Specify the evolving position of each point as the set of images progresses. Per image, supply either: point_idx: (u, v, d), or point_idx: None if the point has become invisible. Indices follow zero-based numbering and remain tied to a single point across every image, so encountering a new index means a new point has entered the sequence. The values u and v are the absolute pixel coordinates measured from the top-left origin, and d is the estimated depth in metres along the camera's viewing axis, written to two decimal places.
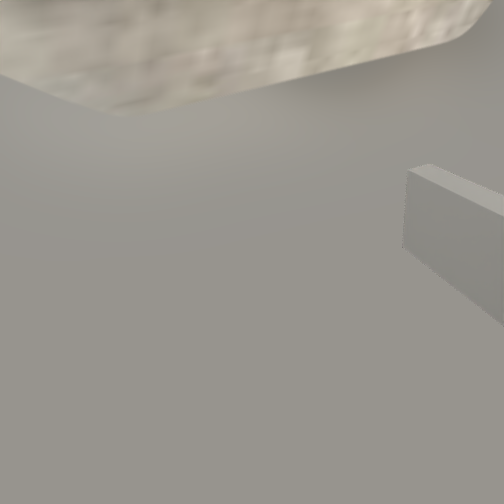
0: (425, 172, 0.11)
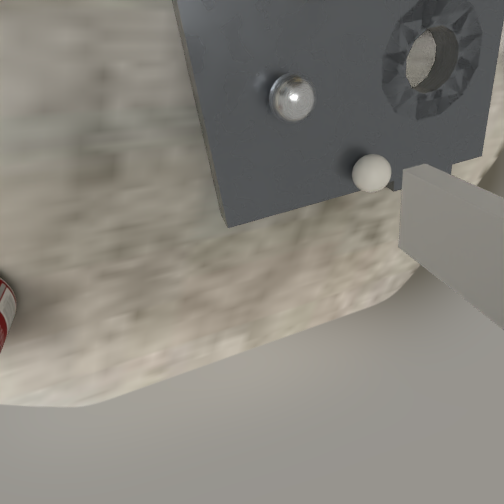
0: (420, 172, 0.11)
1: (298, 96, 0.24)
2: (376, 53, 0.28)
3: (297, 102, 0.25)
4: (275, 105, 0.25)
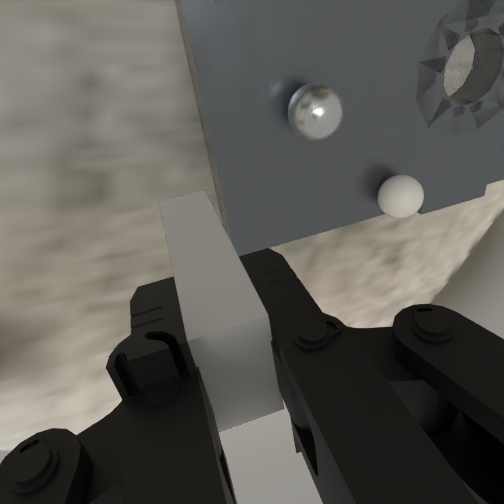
0: (191, 199, 0.12)
1: (324, 111, 0.20)
2: (412, 59, 0.24)
3: (323, 118, 0.21)
4: (295, 121, 0.21)
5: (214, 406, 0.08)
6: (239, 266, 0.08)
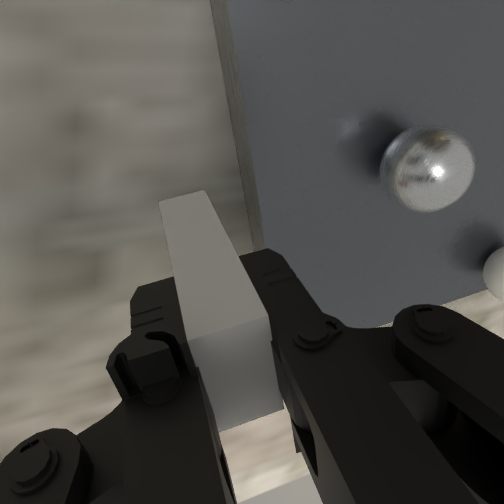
0: (191, 198, 0.12)
1: (452, 173, 0.13)
2: None
3: (448, 184, 0.13)
4: (399, 186, 0.13)
5: (214, 406, 0.08)
6: (239, 266, 0.08)
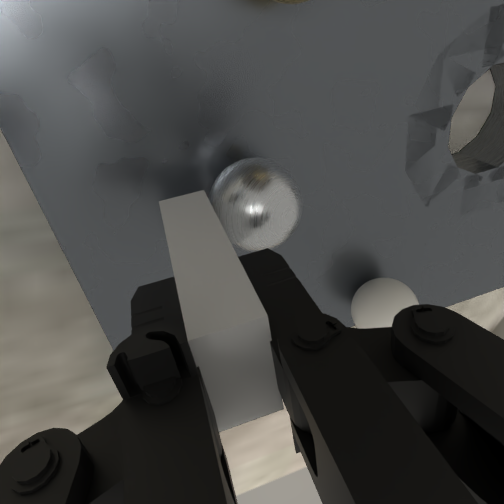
0: (191, 199, 0.12)
1: (284, 209, 0.12)
2: (397, 112, 0.15)
3: (283, 220, 0.12)
4: (235, 231, 0.12)
5: (215, 406, 0.08)
6: (238, 266, 0.08)
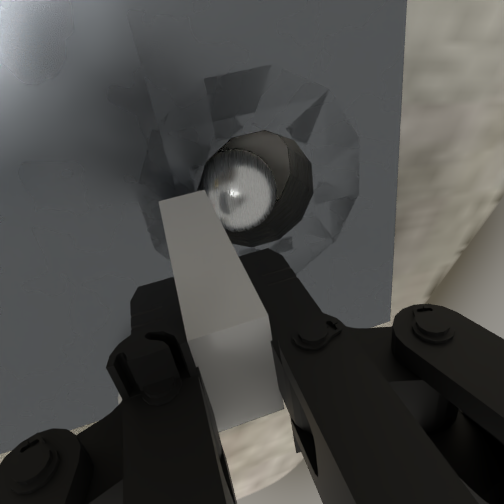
0: (191, 198, 0.12)
1: (273, 179, 0.15)
2: (119, 191, 0.13)
3: (275, 189, 0.15)
4: (249, 207, 0.14)
5: (214, 406, 0.08)
6: (239, 266, 0.08)
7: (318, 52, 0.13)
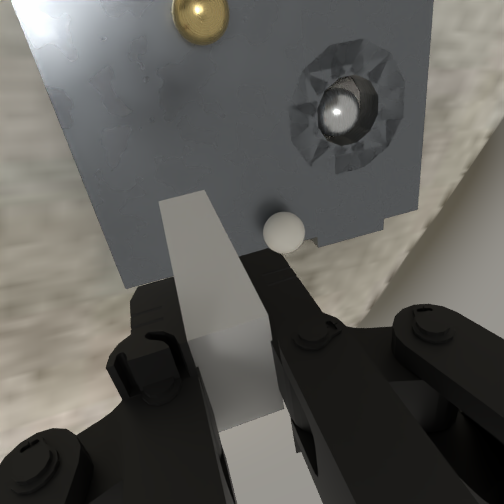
0: (191, 198, 0.12)
1: (358, 104, 0.27)
2: (280, 105, 0.25)
3: None
4: (349, 116, 0.26)
5: (214, 406, 0.08)
6: (239, 266, 0.08)
7: (386, 32, 0.24)
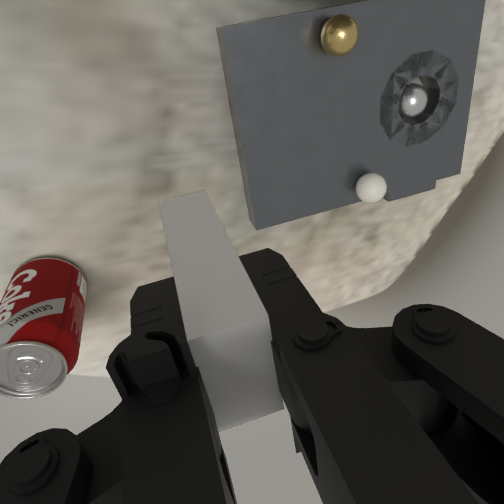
0: (191, 198, 0.12)
1: None
2: (375, 96, 0.36)
3: None
4: (423, 103, 0.37)
5: (214, 406, 0.08)
6: (239, 266, 0.08)
7: (449, 45, 0.35)
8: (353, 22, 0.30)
